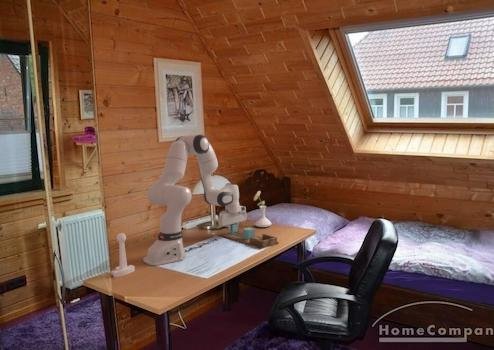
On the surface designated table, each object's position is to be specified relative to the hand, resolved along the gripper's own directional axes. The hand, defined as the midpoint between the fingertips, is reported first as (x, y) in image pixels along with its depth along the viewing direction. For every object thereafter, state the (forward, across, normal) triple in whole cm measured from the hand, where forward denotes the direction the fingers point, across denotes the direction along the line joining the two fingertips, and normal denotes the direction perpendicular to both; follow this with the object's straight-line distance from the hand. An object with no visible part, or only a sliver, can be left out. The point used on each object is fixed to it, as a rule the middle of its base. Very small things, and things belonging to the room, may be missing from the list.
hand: (233, 230), depth 262 cm
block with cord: (+2, 0, -8) cm, 8 cm away
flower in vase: (+3, +27, +2) cm, 27 cm away
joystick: (+3, -79, -11) cm, 80 cm away
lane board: (+3, 0, -15) cm, 15 cm away
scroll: (+4, +11, +18) cm, 22 cm away
